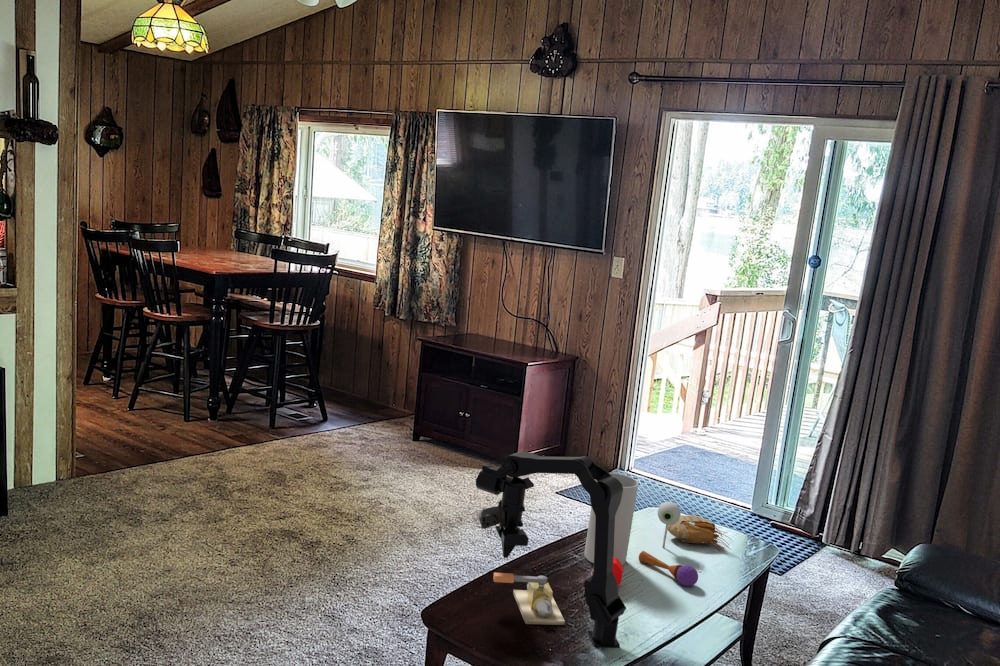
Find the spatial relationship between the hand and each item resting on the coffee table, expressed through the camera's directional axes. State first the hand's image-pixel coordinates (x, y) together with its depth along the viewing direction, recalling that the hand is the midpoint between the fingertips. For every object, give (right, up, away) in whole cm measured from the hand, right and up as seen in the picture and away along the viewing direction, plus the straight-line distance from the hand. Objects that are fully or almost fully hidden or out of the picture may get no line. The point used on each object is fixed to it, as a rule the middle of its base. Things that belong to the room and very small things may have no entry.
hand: (505, 557), depth 224 cm
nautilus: (+63, -11, +57) cm, 85 cm away
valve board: (+8, -13, -2) cm, 15 cm away
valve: (+8, -13, -2) cm, 15 cm away
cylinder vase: (+30, -10, +34) cm, 46 cm away
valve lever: (+4, -5, -4) cm, 8 cm away
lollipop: (+50, -10, +49) cm, 71 cm away
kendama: (+48, -13, +29) cm, 57 cm away
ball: (+28, -12, +17) cm, 35 cm away
